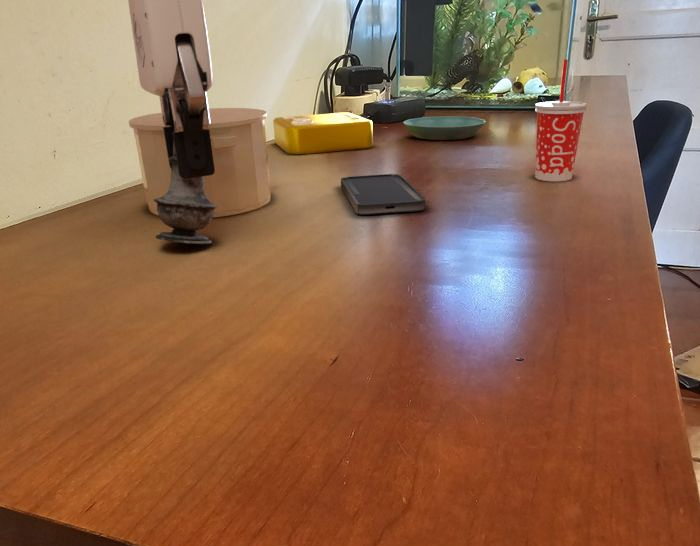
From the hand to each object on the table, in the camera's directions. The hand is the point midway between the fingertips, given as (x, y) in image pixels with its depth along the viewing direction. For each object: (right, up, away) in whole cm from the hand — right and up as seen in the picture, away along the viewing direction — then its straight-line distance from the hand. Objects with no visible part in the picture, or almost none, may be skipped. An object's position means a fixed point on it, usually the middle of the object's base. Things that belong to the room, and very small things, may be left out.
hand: (191, 170), depth 60 cm
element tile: (+10, +19, +52) cm, 57 cm away
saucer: (+32, +22, +56) cm, 69 cm away
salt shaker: (-1, -7, +1) cm, 7 cm away
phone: (+18, +1, +16) cm, 25 cm away
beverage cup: (+41, +5, +23) cm, 48 cm away
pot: (-2, +1, +18) cm, 18 cm away
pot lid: (-2, +9, +13) cm, 16 cm away
